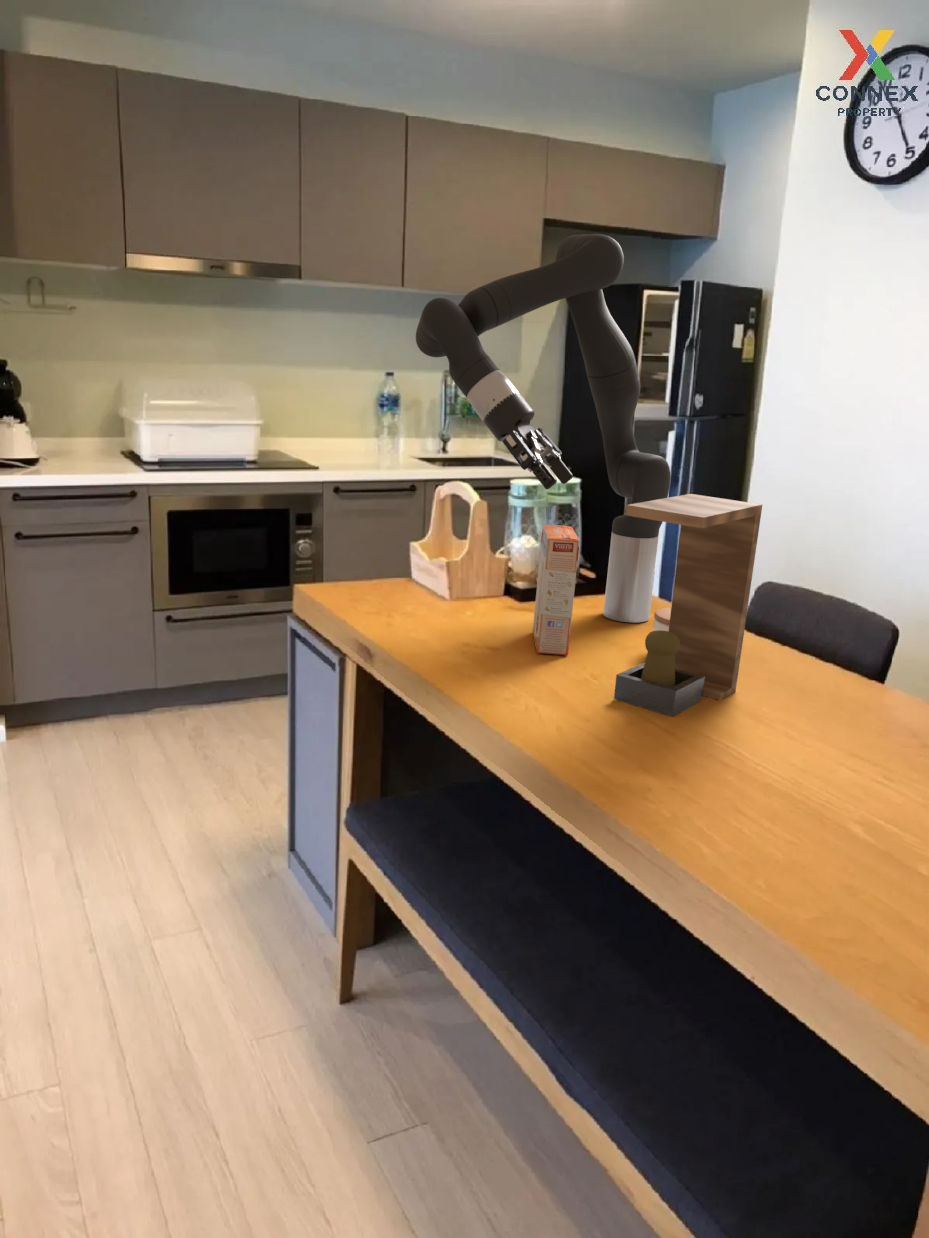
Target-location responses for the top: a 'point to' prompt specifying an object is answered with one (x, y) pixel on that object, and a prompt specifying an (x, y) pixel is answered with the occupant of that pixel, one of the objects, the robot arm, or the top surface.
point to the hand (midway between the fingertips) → (560, 483)
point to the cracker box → (555, 589)
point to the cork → (661, 657)
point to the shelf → (709, 582)
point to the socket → (659, 691)
